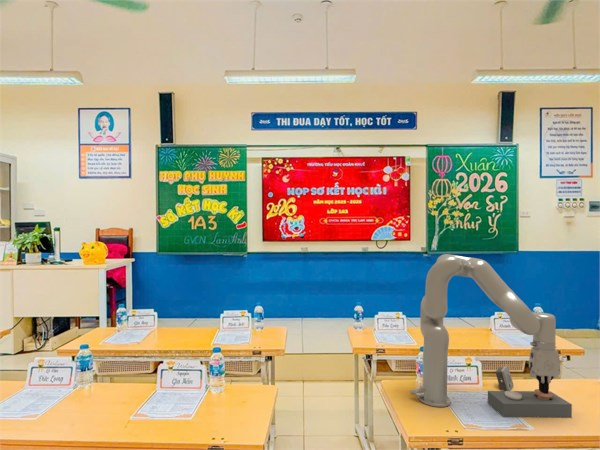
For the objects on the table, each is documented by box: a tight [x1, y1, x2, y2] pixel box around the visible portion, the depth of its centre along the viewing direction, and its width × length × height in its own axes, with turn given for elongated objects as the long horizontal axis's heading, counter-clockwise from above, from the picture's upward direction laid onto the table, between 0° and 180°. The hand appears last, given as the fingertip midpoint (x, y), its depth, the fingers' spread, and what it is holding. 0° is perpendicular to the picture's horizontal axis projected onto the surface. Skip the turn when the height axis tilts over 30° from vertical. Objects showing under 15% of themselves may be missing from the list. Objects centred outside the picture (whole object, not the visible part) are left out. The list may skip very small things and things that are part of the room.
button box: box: [487, 390, 573, 419], centre depth 155 cm, size 26×12×5 cm, turn 92°
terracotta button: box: [533, 388, 553, 400], centre depth 155 cm, size 6×6×5 cm
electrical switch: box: [495, 364, 514, 391], centre depth 177 cm, size 9×5×9 cm, turn 141°
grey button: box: [504, 390, 522, 400], centre depth 155 cm, size 6×6×5 cm
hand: (543, 392), depth 155 cm, fingers closed
